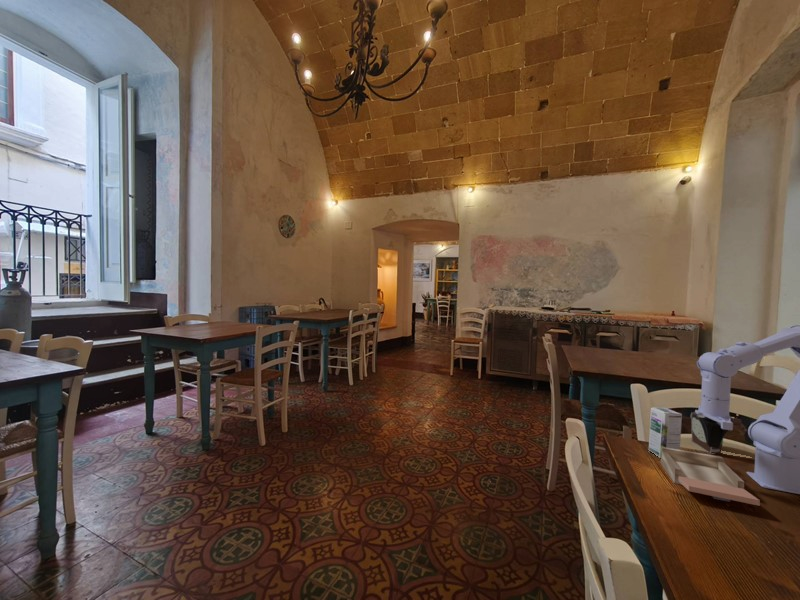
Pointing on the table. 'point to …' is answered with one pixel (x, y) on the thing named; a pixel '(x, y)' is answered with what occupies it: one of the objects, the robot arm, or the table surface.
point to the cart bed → (698, 467)
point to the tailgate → (718, 491)
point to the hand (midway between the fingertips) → (712, 446)
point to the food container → (701, 435)
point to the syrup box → (664, 430)
